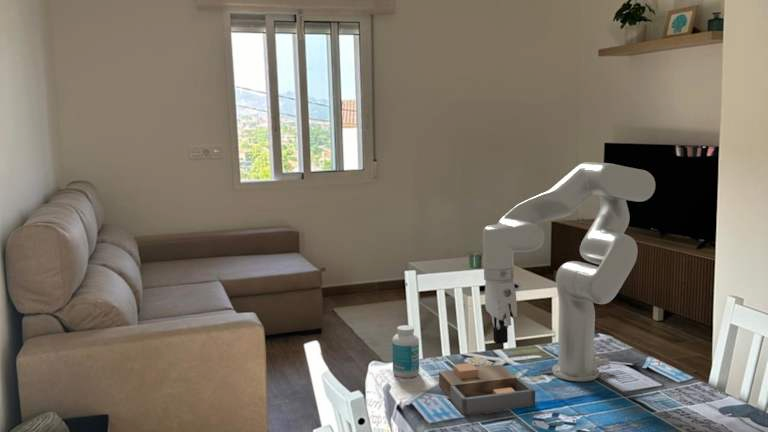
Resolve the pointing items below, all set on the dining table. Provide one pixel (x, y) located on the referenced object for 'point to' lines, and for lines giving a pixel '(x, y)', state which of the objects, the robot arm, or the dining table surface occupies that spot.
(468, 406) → the tray
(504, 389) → the tile
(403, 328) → the pill bottle
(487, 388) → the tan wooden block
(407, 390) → the dining table surface
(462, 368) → the tile
